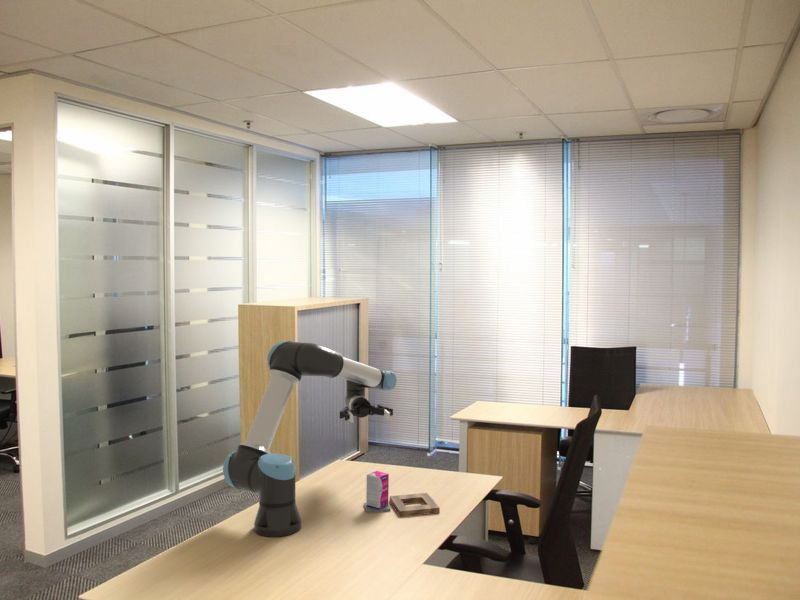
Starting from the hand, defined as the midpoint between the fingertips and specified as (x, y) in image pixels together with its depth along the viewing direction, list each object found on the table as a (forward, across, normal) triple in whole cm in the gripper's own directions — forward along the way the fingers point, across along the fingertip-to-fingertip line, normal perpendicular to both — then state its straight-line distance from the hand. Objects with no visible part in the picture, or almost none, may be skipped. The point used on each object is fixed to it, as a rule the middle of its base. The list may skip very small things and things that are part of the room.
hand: (370, 417), depth 253 cm
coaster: (+10, 0, -30) cm, 32 cm away
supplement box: (+10, 0, -29) cm, 31 cm away
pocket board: (+12, -13, -30) cm, 35 cm away
